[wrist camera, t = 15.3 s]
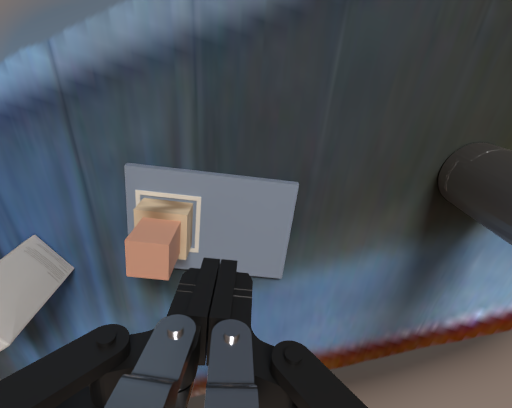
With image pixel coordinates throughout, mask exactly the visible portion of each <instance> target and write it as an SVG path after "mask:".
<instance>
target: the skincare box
mask: <svg viewBox="0 0 512 408" xmlns="http://www.w3.org/2000/svg"><path fill="white" fill-rule="evenodd" d="M73 270H74V267H73V266H71V265H70V264H69V263H68V262H67V261H65V260H64V259H63V258H62V257H61V256H60V255H58V254H57V253H56V252H55V251H54V250H52V249H51V248H50V247H49V246H48V245H47V244H45V243H44V242H43V241H42V240H41V239H40V238H38V237H37V236H36V235H33V236H31V237H30V238H29V239H27V240H26V241H24V242H23V243H22V244H20V245H19V246H18V247H16V248H15V249H14V250H12V251H11V252H10V253H8V254H7V255H6V256H4V257H3V258H2V259H1V260H0V351H2V350H3V349H5V348H6V347H8V346H9V345H10V344H11V343H12V342H13V341H14V339H15V338H16V337H17V336H18V335H19V333H20V332H21V331H22V330H23V329H24V328H25V326H26V325H27V324H28V323H29V322H30V320H31V319H32V318H33V317H34V316H35V315H36V313H37V312H38V311H39V310H40V309H41V308H42V306H43V305H44V304H45V303H46V302H47V300H48V299H49V298H50V297H51V296H52V295H53V293H54V292H55V291H56V290H57V289H58V288H59V286H60V285H61V284H62V283H63V282H64V281H65V279H66V278H67V277H68V276H69V275H70V273H71V272H72V271H73Z"/></svg>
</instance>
